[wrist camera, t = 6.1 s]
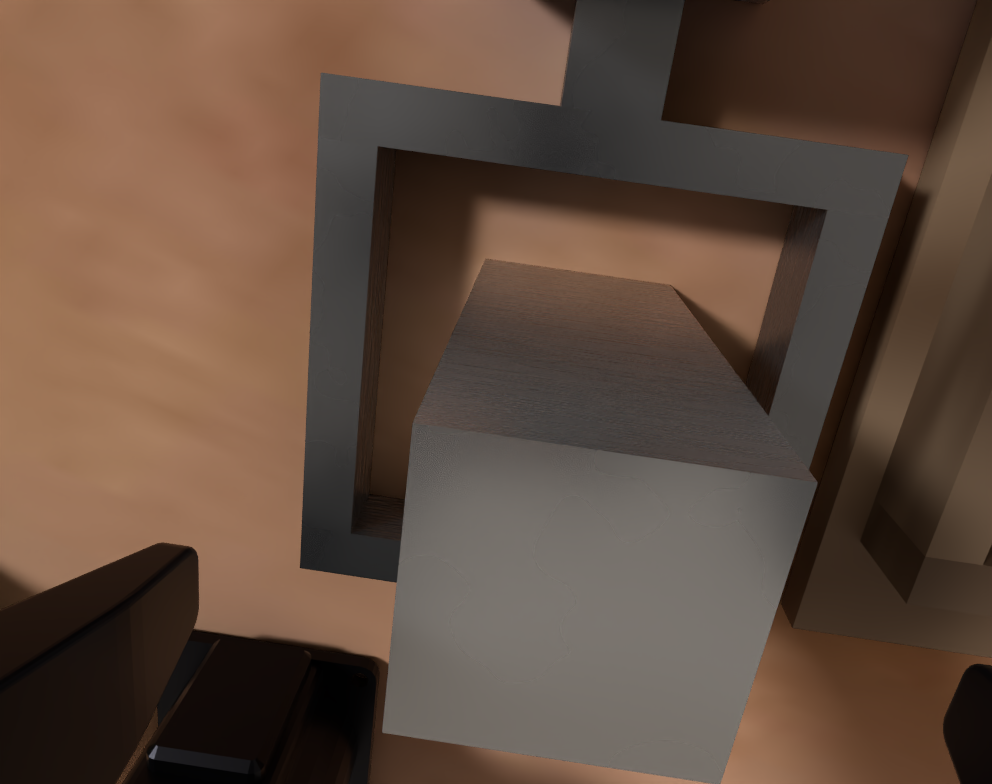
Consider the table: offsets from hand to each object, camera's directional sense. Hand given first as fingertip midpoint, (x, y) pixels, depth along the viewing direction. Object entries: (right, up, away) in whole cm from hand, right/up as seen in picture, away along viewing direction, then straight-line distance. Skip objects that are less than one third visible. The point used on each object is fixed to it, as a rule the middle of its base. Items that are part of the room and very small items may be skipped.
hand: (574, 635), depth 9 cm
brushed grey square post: (+1, +4, +10) cm, 10 cm away
